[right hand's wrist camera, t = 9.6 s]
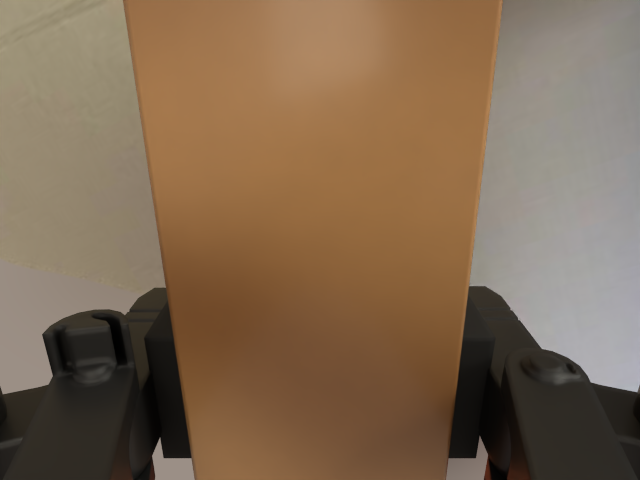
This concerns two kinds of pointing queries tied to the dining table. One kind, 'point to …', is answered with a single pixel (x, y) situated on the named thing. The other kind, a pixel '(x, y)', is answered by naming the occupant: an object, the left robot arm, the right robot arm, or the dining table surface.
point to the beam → (316, 223)
